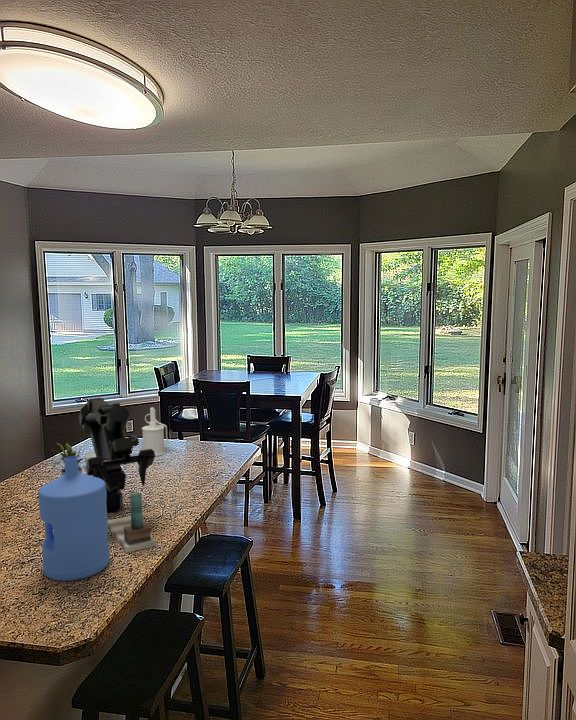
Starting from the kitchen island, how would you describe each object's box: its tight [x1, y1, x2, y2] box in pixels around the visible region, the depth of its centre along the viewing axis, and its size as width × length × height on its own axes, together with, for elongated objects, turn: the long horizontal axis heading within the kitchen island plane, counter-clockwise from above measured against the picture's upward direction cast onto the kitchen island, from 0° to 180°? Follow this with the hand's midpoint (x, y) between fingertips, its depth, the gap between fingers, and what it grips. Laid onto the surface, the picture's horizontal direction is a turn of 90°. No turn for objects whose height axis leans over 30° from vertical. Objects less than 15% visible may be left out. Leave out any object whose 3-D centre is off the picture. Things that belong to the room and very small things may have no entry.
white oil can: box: [141, 407, 168, 457], centre depth 237 cm, size 10×9×20 cm
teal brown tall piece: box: [124, 492, 152, 545], centre depth 150 cm, size 4×6×12 cm, turn 121°
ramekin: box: [83, 451, 96, 467], centre depth 219 cm, size 11×11×5 cm
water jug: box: [38, 455, 111, 582], centre depth 138 cm, size 16×16×28 cm
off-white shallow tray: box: [107, 515, 157, 554], centre depth 157 cm, size 20×8×2 cm, turn 31°
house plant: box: [52, 442, 91, 476], centre depth 197 cm, size 14×14×16 cm
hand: (127, 488), depth 157 cm, fingers open, 9 cm apart
